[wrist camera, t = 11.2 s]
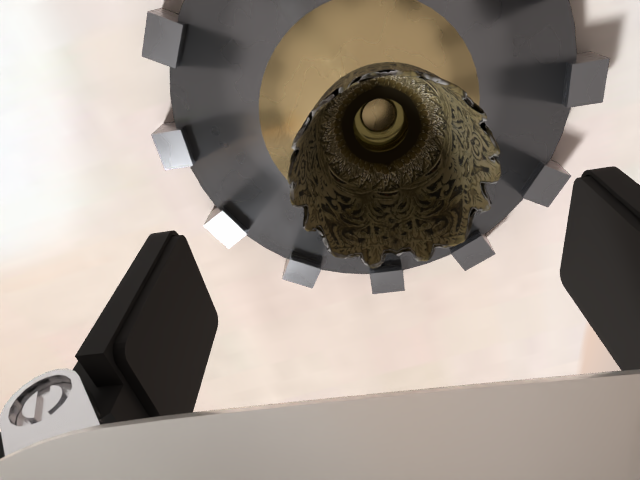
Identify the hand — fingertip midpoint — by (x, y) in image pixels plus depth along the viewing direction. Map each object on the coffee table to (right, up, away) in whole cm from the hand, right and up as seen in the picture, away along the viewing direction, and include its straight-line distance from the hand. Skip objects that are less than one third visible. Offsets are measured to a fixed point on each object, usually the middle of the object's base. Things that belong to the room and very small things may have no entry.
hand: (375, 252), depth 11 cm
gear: (+1, +7, +13) cm, 15 cm away
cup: (+2, +7, +11) cm, 13 cm away
